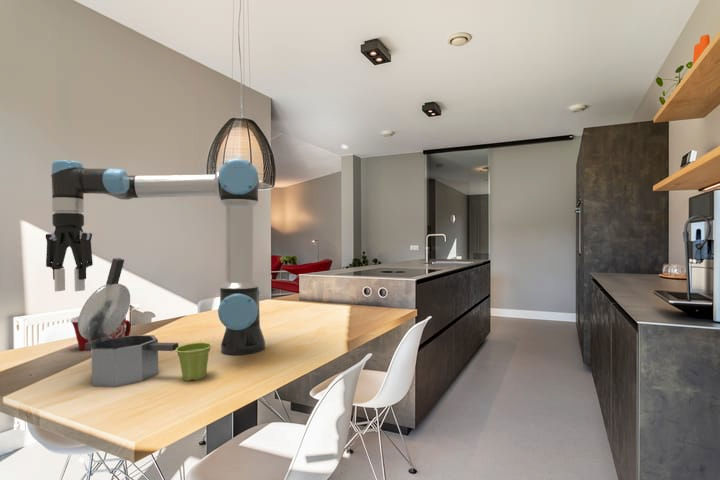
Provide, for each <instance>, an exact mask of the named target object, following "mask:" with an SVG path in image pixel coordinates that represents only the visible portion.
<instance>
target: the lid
mask: <svg viewBox="0 0 720 480" xmlns="http://www.w3.org/2000/svg"><path fill="white" fill-rule="evenodd" d="M124 264H125V259H123V258H119V257H116V258H115V257H114V258H112V261H111V266H110V268H109V271H108V275H107V279H106V282H105V283H106V284H105V285H102V286H100V287H99V288H98V289H96V290H95V291H94V292H93V293H92V294H91V295H90V296H89V297H88V299H87V300H86V301H85V303H84V305H83V306H82V308H81V310H80V313H79V315H78V316H79V320H78V329H79V332H80V334H81V336H82V337H84V338H85V339H88V344H93V343H96V342H99V341H103V340H106V339H108V338H109V335H110V334H111V333H113V332H114V331H115V330H116V329H117V328H118V327H119V325H120V324H121V323H122V321H123V320H124V318H125V317H126V316H127V314H128V312H129V309H130V304H131V293H130V291H129V289H128V287H127V286H126V285H123V284H121V283H119V282H120V278H121V274H122V271H123V270H122V269H123V267H124Z"/></svg>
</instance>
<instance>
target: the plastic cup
mask: <svg viewBox="0 0 720 480" xmlns="http://www.w3.org/2000/svg"><path fill="white" fill-rule="evenodd" d="M78 320H79V315H78V316H75V317H72V318H70V320H69V321H70V323H71V324H72V327H73V328H74V332H75V337H76V341H77V343H78V348H79V350H80V351H88V350H90V351H91V349H85V343H88V339H85V338H84V337H82V336H81V334H80V332H79V329H78Z"/></svg>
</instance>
